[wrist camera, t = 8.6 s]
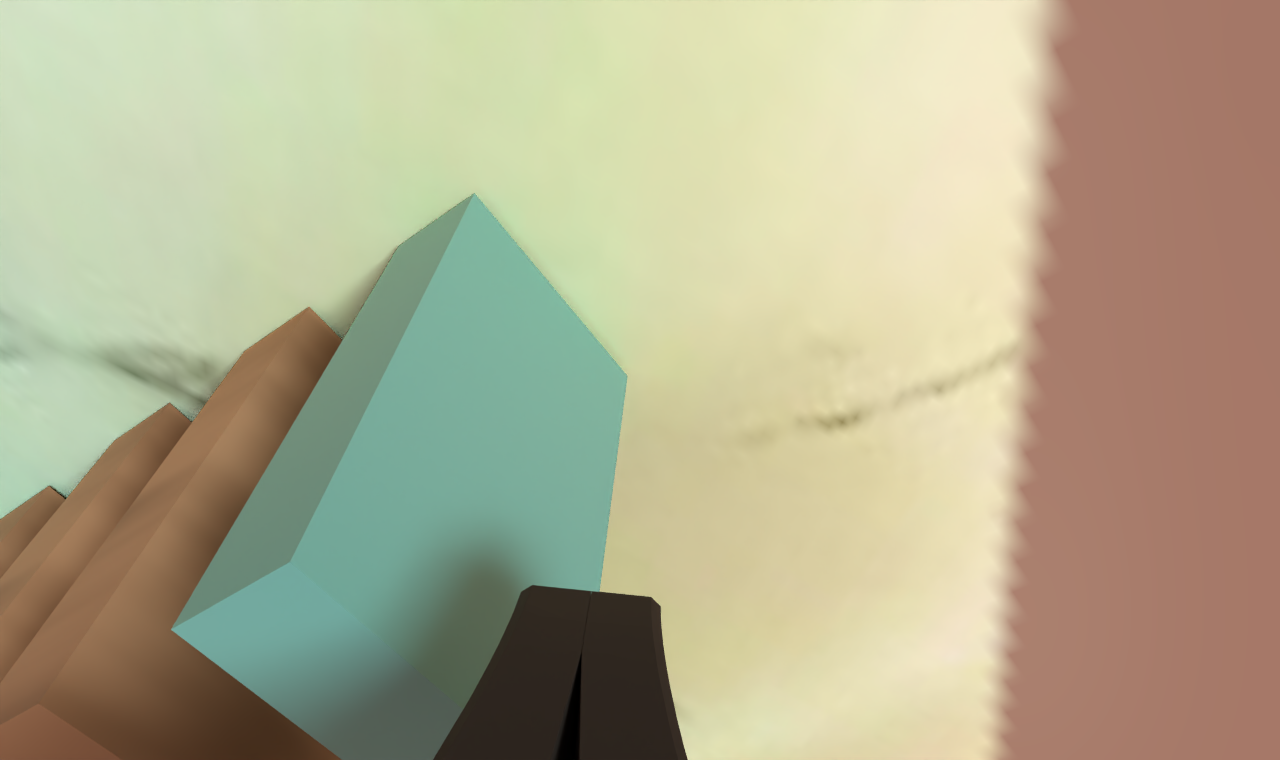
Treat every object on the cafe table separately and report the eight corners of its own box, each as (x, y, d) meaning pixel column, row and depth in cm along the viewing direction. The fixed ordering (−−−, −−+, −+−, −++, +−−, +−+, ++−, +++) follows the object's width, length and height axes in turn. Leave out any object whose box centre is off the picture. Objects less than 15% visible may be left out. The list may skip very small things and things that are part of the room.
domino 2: (465, 466, 23) (324, 896, 15) (401, 502, 24) (233, 930, 15) (308, 306, 21) (38, 703, 12) (244, 351, 21) (-52, 753, 13)
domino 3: (627, 375, 21) (572, 802, 13) (553, 417, 22) (456, 846, 14) (474, 193, 19) (290, 561, 11) (398, 245, 20) (170, 629, 11)
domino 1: (327, 543, 24) (129, 969, 16) (272, 574, 25) (55, 998, 17) (169, 402, 22) (-154, 810, 14) (113, 441, 23) (-225, 850, 15)
